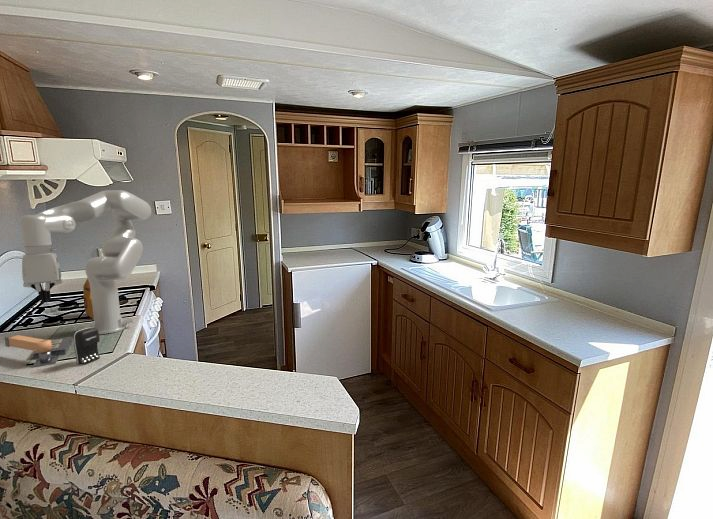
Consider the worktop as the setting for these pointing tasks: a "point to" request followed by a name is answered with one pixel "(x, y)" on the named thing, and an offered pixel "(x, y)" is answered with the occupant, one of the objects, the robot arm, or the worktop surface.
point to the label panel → (57, 347)
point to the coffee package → (88, 299)
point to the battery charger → (86, 345)
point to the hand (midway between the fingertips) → (45, 301)
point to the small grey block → (45, 359)
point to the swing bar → (28, 343)
